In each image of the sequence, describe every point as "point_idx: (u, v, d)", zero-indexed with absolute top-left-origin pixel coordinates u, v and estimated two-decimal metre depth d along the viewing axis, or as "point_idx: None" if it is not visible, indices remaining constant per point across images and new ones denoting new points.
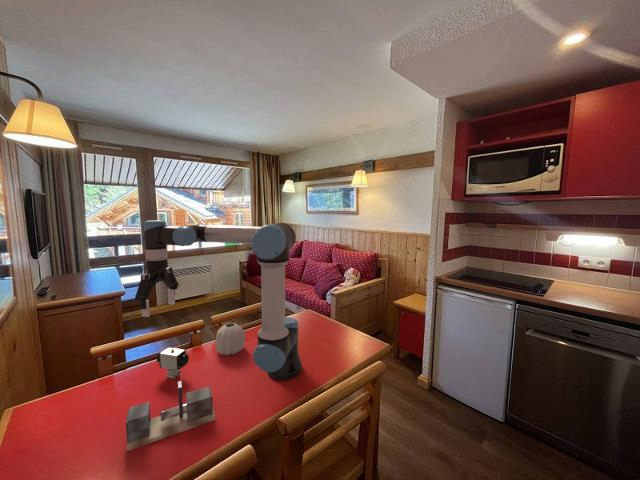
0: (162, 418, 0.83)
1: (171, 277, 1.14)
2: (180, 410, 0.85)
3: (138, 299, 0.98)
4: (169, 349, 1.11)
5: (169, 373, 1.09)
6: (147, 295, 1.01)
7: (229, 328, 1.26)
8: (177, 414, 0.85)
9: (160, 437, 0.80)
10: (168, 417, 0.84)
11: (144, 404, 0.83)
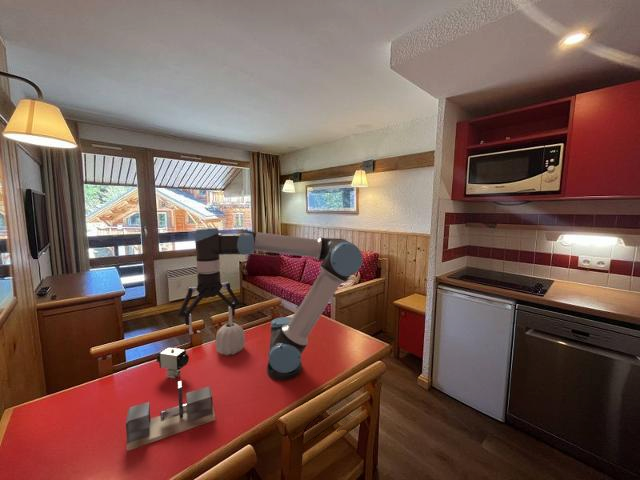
0: (162, 418, 0.83)
1: None
2: (180, 410, 0.85)
3: (179, 313, 0.90)
4: (169, 349, 1.11)
5: (169, 373, 1.09)
6: (189, 310, 0.91)
7: (229, 328, 1.26)
8: (177, 414, 0.85)
9: (160, 437, 0.80)
10: (168, 417, 0.84)
11: (144, 404, 0.83)
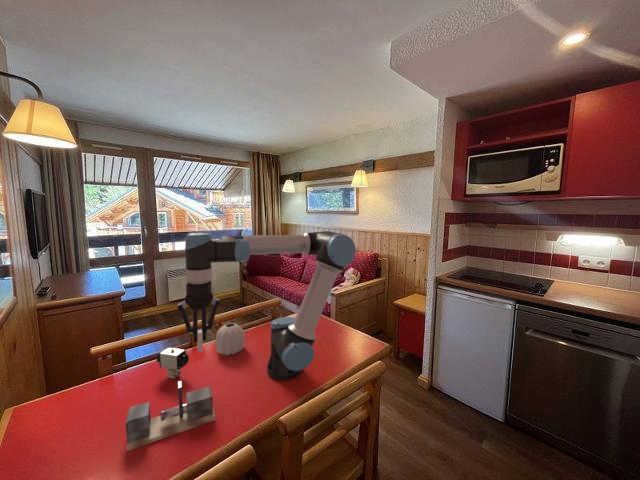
0: (162, 418, 0.83)
1: (211, 312, 0.88)
2: (180, 410, 0.85)
3: None
4: (169, 349, 1.11)
5: (169, 373, 1.09)
6: (195, 327, 0.86)
7: (229, 328, 1.26)
8: (177, 414, 0.85)
9: (160, 437, 0.80)
10: (168, 417, 0.84)
11: (144, 404, 0.83)
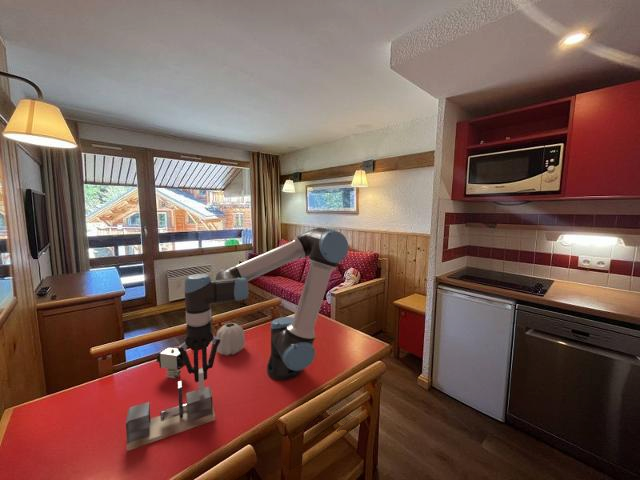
0: (162, 418, 0.83)
1: (212, 351, 0.89)
2: (180, 410, 0.85)
3: None
4: (169, 349, 1.11)
5: (169, 373, 1.09)
6: (196, 367, 0.87)
7: (229, 328, 1.26)
8: (177, 414, 0.85)
9: (160, 437, 0.80)
10: (168, 417, 0.84)
11: (144, 404, 0.83)
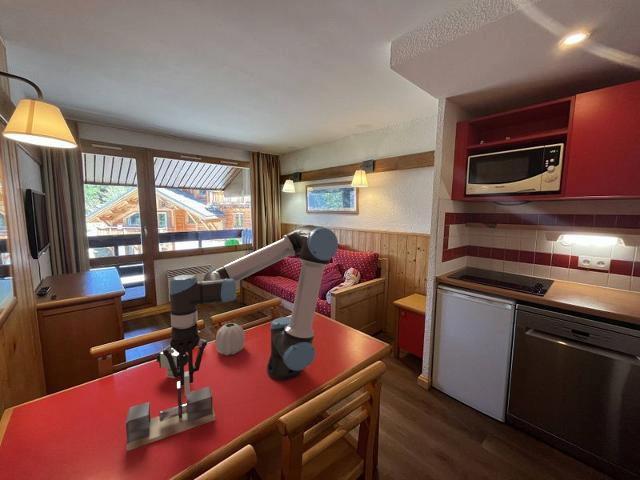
0: (161, 418, 0.83)
1: (198, 354, 0.87)
2: (179, 410, 0.85)
3: None
4: None
5: (169, 373, 1.09)
6: (181, 370, 0.84)
7: (229, 328, 1.26)
8: (176, 414, 0.85)
9: (160, 437, 0.80)
10: (167, 417, 0.84)
11: (144, 404, 0.83)
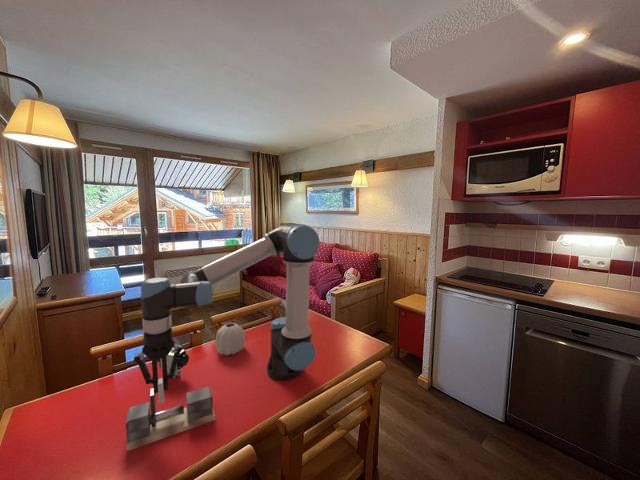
0: None
1: (173, 360, 0.83)
2: (152, 419, 0.81)
3: None
4: None
5: None
6: (154, 377, 0.81)
7: (229, 328, 1.26)
8: (149, 423, 0.81)
9: (160, 437, 0.80)
10: None
11: (144, 404, 0.83)
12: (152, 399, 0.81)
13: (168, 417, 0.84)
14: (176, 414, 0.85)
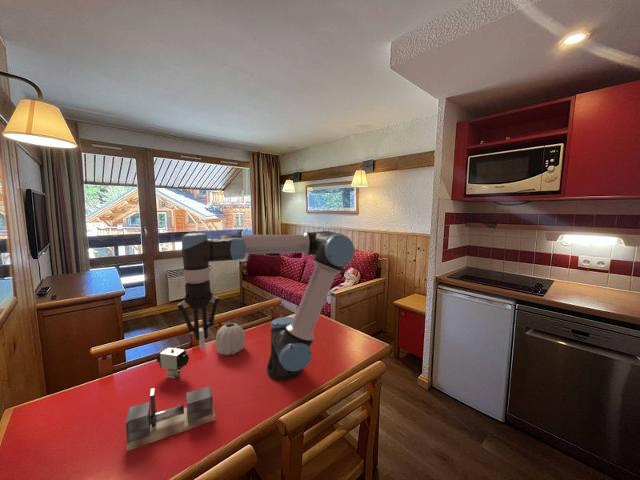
0: None
1: (211, 310, 0.90)
2: (152, 419, 0.81)
3: (188, 328, 0.87)
4: (169, 349, 1.11)
5: (169, 373, 1.09)
6: (196, 325, 0.88)
7: (229, 328, 1.26)
8: (149, 423, 0.81)
9: (160, 437, 0.80)
10: None
11: (144, 404, 0.83)
12: (152, 399, 0.81)
13: (168, 417, 0.84)
14: (176, 414, 0.85)
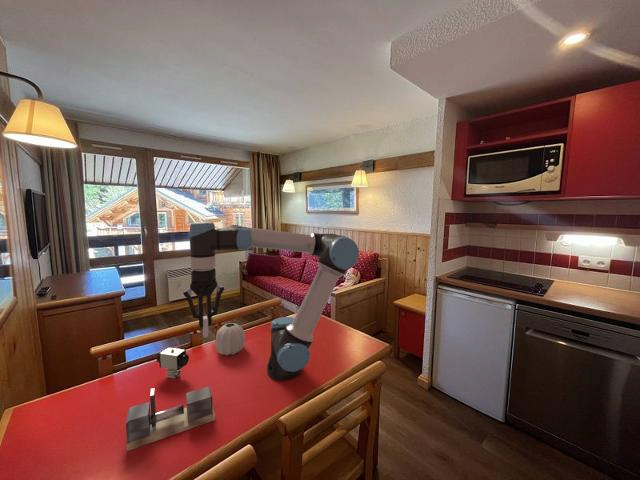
0: None
1: (216, 298, 0.91)
2: (152, 419, 0.81)
3: (193, 315, 0.88)
4: (169, 349, 1.11)
5: (169, 373, 1.09)
6: (200, 313, 0.89)
7: (229, 328, 1.26)
8: (149, 423, 0.81)
9: (160, 437, 0.80)
10: None
11: (144, 404, 0.83)
12: (152, 399, 0.81)
13: (168, 417, 0.84)
14: (176, 414, 0.85)
